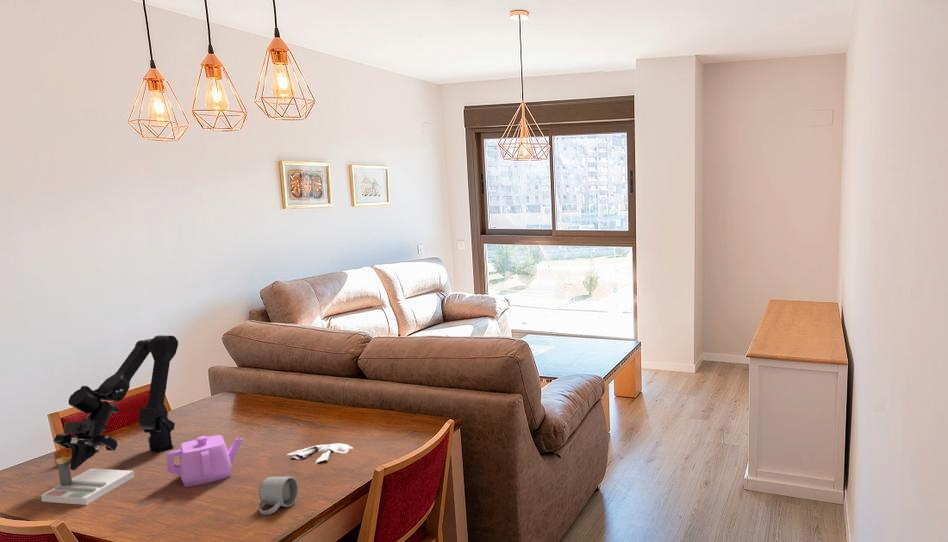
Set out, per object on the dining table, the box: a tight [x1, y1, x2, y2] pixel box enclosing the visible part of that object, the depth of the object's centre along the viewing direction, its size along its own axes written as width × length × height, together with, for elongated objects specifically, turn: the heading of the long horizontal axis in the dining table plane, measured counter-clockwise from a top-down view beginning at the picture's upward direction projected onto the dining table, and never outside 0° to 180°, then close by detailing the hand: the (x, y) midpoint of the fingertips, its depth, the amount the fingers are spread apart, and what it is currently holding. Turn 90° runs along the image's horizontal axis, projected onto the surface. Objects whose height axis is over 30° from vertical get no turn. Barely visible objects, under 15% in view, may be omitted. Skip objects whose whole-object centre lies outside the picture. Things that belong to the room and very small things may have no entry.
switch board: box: [40, 468, 135, 506], centre depth 195 cm, size 18×16×3 cm
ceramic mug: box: [257, 476, 299, 516], centre depth 175 cm, size 11×8×8 cm
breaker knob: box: [55, 456, 72, 486], centre depth 192 cm, size 2×2×8 cm
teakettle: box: [166, 434, 243, 488], centre depth 198 cm, size 17×17×12 cm
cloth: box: [286, 442, 354, 465], centre depth 209 cm, size 20×22×2 cm
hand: (72, 469), depth 191 cm, fingers closed
